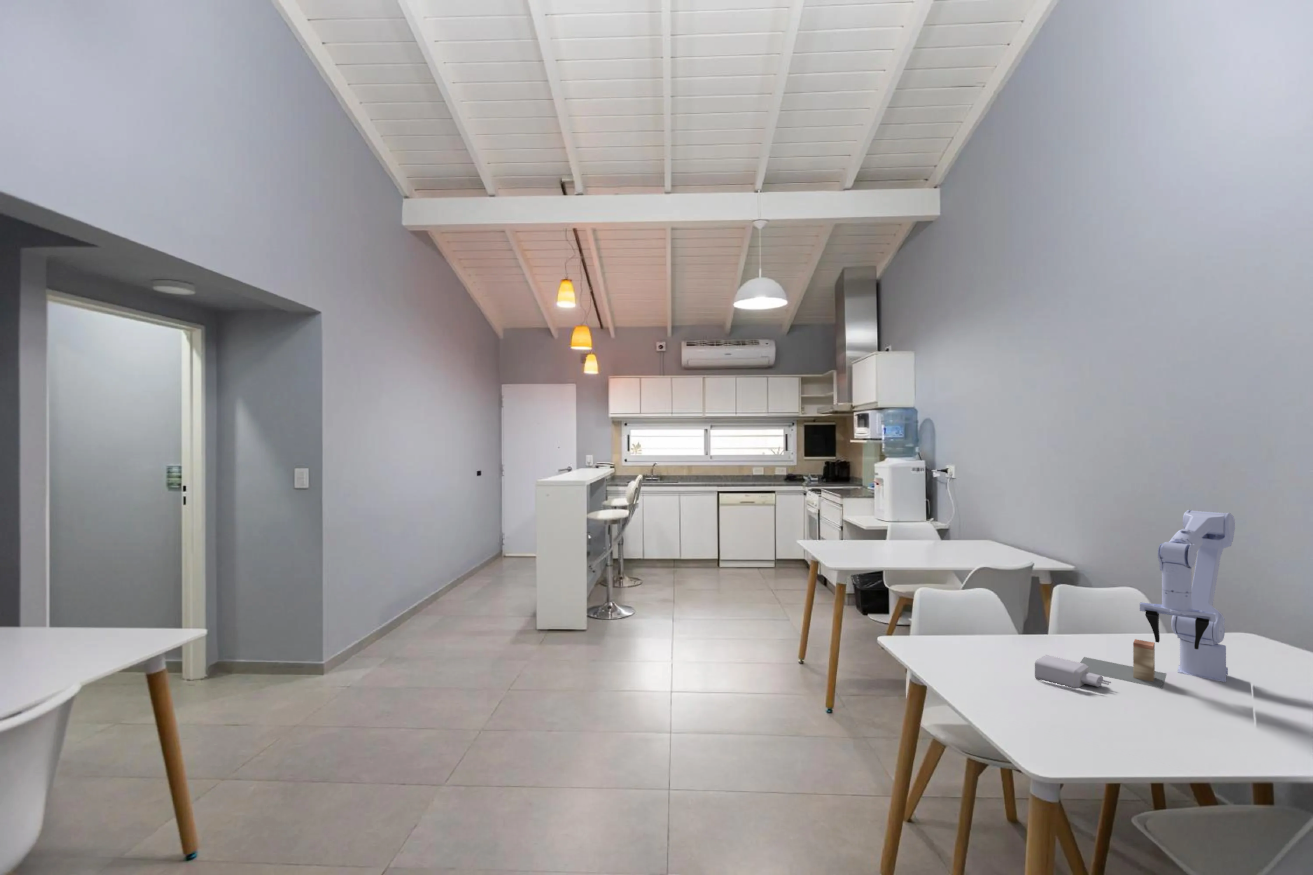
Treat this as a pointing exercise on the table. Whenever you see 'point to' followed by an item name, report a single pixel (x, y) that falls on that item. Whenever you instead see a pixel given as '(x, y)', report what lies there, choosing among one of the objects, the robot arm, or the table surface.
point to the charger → (1066, 672)
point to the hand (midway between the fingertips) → (1176, 644)
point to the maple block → (1144, 660)
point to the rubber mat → (1121, 672)
